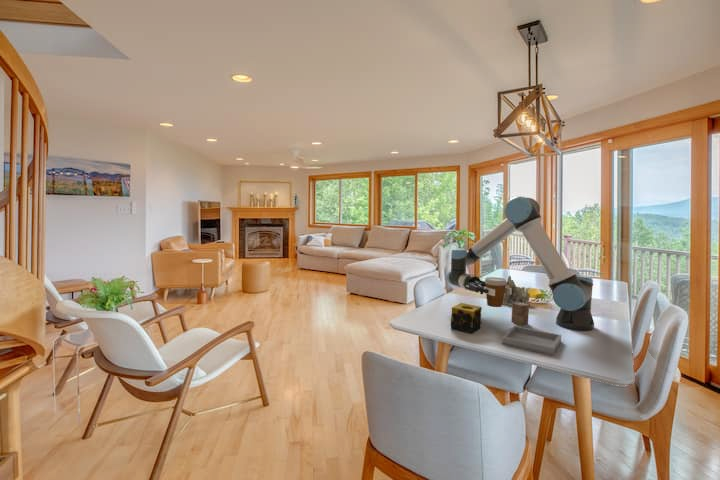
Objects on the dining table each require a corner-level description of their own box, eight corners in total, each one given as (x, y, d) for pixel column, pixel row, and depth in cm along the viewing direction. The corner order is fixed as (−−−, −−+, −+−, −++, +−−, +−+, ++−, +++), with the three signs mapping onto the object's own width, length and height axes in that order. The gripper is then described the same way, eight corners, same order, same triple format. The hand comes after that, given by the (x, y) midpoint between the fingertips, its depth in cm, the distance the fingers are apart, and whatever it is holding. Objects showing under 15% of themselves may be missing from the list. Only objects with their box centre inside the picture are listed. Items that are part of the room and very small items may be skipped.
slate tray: (560, 341, 148) (561, 335, 148) (553, 355, 133) (553, 348, 133) (513, 332, 158) (514, 325, 158) (501, 343, 144) (502, 336, 144)
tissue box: (459, 324, 168) (460, 302, 167) (481, 329, 162) (482, 306, 161) (449, 329, 160) (450, 306, 159) (472, 334, 154) (473, 311, 153)
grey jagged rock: (490, 300, 212) (493, 275, 210) (510, 299, 219) (514, 274, 217) (511, 309, 198) (515, 282, 196) (532, 307, 205) (536, 281, 203)
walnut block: (519, 320, 175) (520, 302, 174) (527, 324, 170) (529, 304, 169) (511, 321, 173) (512, 303, 172) (519, 325, 168) (520, 305, 168)
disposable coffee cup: (507, 308, 160) (509, 281, 159) (484, 307, 162) (485, 280, 161) (503, 303, 169) (505, 277, 168) (482, 302, 171) (483, 276, 170)
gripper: (487, 288, 186) (521, 298, 165) (451, 291, 178) (482, 302, 157) (487, 273, 185) (522, 282, 164) (452, 276, 178) (483, 285, 157)
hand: (502, 292), depth 161 cm, fingers closed on disposable coffee cup, 8 cm apart
